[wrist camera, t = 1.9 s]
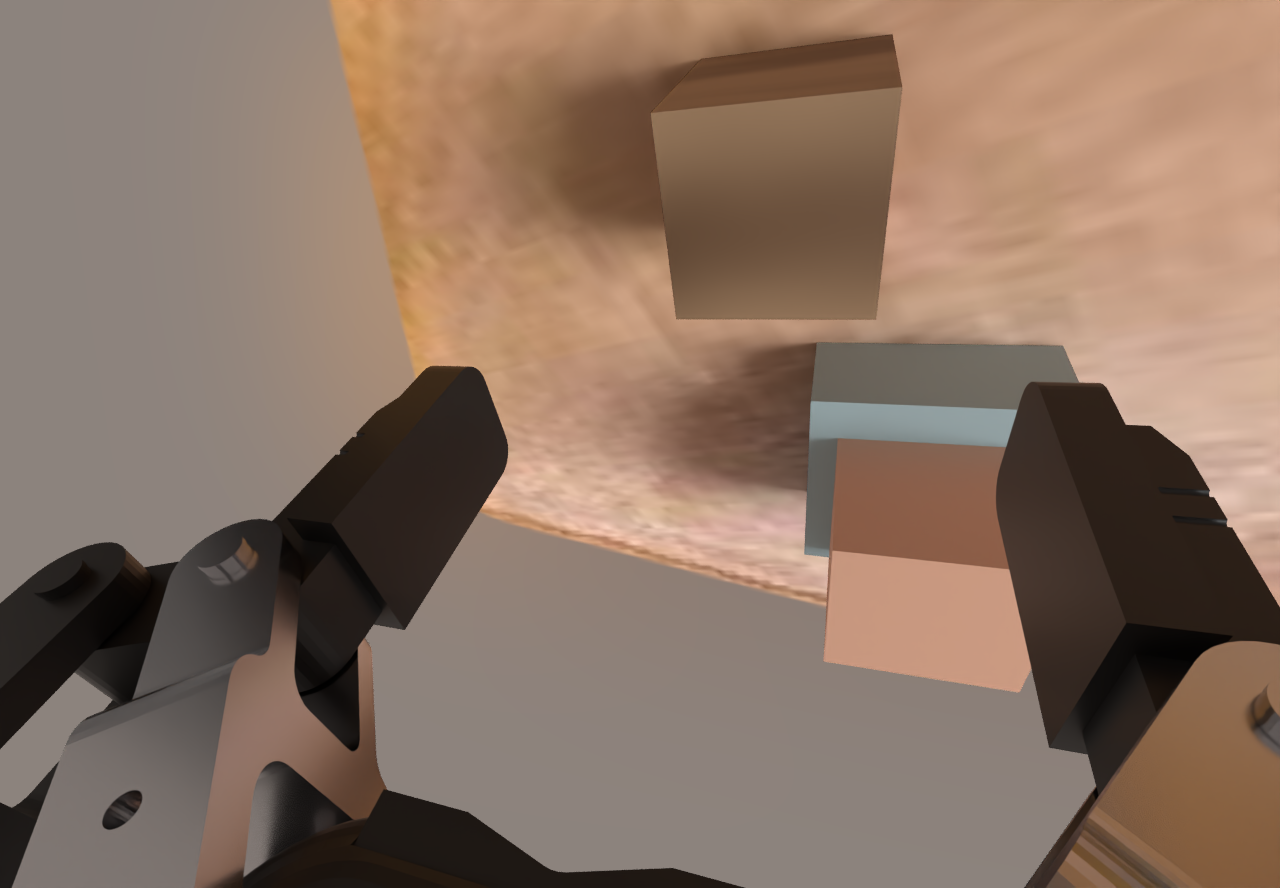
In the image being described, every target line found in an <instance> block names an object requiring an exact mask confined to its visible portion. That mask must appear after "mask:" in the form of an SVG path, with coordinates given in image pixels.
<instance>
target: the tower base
mask: <svg viewBox="0 0 1280 888" xmlns="http://www.w3.org/2000/svg"><path fill="white" fill-rule="evenodd" d="M1030 382H1072V383H1079V381H1078V379H1077V377H1076V374H1075V372H1074V370H1073V367H1072V365H1071V363H1070V361H1069V358H1068V356H1067V354H1066V351H1065V349H1064V347H1063V346H1037V345H963V344H889V343H817V346H816V356H815V366H814V375H813V385H812V394H811V408H810V432H809V456H808V480H807V503H806V527H805V551H804V554H805V555H814V556H823V557H829V548H830V535H831V522H832V508H833V495H834V482H835V468H836V455H837V442H838V438H844V439H863V440H881V441H900V442H918V443H936V444H955V445H973V446H992V447H1006V446H1007V442H1008V439H1009V436H1010V433H1011V429H1012V426H1013V423H1014V420H1015V416H1016V413H1017V410H1018V407H1019V403H1020V400H1021V397H1022V394H1023V392H1024V389H1025V388H1026V386H1027V385H1028V384H1029V383H1030Z"/></svg>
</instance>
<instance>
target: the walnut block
mask: <svg viewBox="0 0 1280 888" xmlns="http://www.w3.org/2000/svg"><path fill="white" fill-rule="evenodd" d="M901 94H902V83H901V77H900V72H899V67H898V62H897V56H896V51H895V46H894V40H893V35H885V36H877V37H869V38H861V39H854V40H846V41H838V42H830V43H822V44H815V45H807V46H799V47H791V48H783V49H775V50H768V51H760V52H752V53H744V54H736V55H729V56H721V57H713V58H705V59H701V60H700V61H699V62H698V63H697V64H696V65H695V66H694V67H693V68H692V69H691V71H690V72H689V73H688V74H687V75H686V76H685V77H684V78H683V79H682V80H681V81H680V82H679V83H678V84H677V85H676V86H675V88H674V89H673V90H672V91H671V92H670V93H669V94H668V95H667V96H666V97H665V98H664V99H663V100H662V101H661V102H660V103H659V105H658V106H657V107H656V108H655V109H654V110H653V111H652V112H651V121H652V129H653V137H654V145H655V153H656V161H657V169H658V177H659V185H660V193H661V201H662V209H663V217H664V225H665V233H666V241H667V249H668V257H669V265H670V273H671V281H672V289H673V297H674V305H675V313H676V319H807V320H876V314H877V306H878V297H879V288H880V279H881V270H882V261H883V253H884V244H885V235H886V226H887V217H888V209H889V200H890V191H891V182H892V173H893V165H894V156H895V147H896V138H897V129H898V121H899V112H900V103H901Z"/></svg>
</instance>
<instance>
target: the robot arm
mask: <svg viewBox="0 0 1280 888" xmlns="http://www.w3.org/2000/svg"><path fill="white" fill-rule="evenodd" d="M507 458H508V444H507V439H506V436H505V433H504V430H503V428H502V425H501V422H500V419H499V417H498V414H497V411H496V409H495V406H494V403H493V401H492V398H491V395H490V393H489V390H488V387H487V385H486V382H485V379H484V377H483V375H482V374H481V372H480V371H479V370H478V369H476V368H474V367H460V366H430V367H428V368H426V369H425V370H424V371H423V372H422V373H421V374H420V375H419V377H418V378H417V379H416V380H415V381H414V382H413V383H412V384H411V385H410V386H409V387H408V388H407V389H406V391H405V392H404V393H403V394H402V395H401V396H400V397H399V398H397V399H395V400H394V401H392V402H391V403H389V404H388V405H386V406H385V407H383V408H382V409H380V410H379V411H377V412H376V413H375V414H374V415H373V416H372V417H371V418H370V419H369V420H368V421H367V422H366V423H365V425H363V426H362V427H361V428H360V430H359V431H358V432H357V436H356V437H352V438H351V439H350V440H349V441H348V442H347V443H346V445H344V446H343V447H342V448H341V450H340V455H335V456H334V457H333V458H332V459H331V460H330V461H329V462H328V463H327V464H326V465H325V466H324V467H323V468H322V469H321V470H320V472H319V473H318V474H317V475H316V476H315V477H314V478H313V479H312V480H311V481H310V482H309V483H308V484H307V485H306V486H305V487H304V488H303V489H302V490H301V492H300V493H299V494H298V495H297V496H296V497H295V498H294V499H293V500H292V501H291V502H290V503H289V504H288V505H287V506H286V507H285V508H284V509H283V511H282V512H281V513H280V514H279V515H278V516H277V517H276V518H275V519H274V520H273V521H270V520H266V519H251V520H247V521H242V522H238V523H235V524H232V525H230V526H227V527H225V528H223V529H221V530H219V531H217V532H215V533H213V534H211V535H210V536H208V537H206V538H205V539H204V540H202V541H201V542H199V543H198V544H197V545H195V546H194V547H193V548H192V549H191V550H190V551H189V552H188V553H187V554H186V555H185V556H184V557H183V558H182V559H181V560H180V561H179V562H174V563H168V564H161V565H155V566H150V567H143V566H142V565H141V564H140V563H139V562H138V561H137V560H136V559H135V558H134V557H133V556H132V555H131V554H130V553H129V552H128V551H126V549H124V547H122V546H121V545H119V544H117V543H112V542H111V543H110V542H109V543H99V544H94V545H90V546H86V547H83V548H81V549H78V550H75V551H73V552H71V553H69V554H66V555H65V556H63V557H61V558H59V559H57V560H55V561H54V562H52V563H50V564H49V565H47V566H46V567H44V568H43V569H41V570H40V571H38V572H37V573H36V574H35V575H33V576H32V577H31V578H30V579H28V580H27V581H26V582H25V583H24V584H23V585H21V586H20V587H19V588H18V589H17V590H16V591H14V592H13V593H12V594H11V595H10V596H8V597H7V598H6V599H5V600H4V601H3V602H1V603H0V749H1V748H2V747H3V746H4V745H5V743H6V742H7V741H8V740H9V739H10V738H11V737H12V736H13V735H14V734H15V733H16V732H17V731H18V730H19V729H20V728H21V727H22V726H23V725H24V724H25V723H26V722H27V721H28V720H29V719H30V718H31V717H32V716H33V714H34V713H35V712H36V711H37V710H38V709H39V708H40V707H41V706H42V705H43V704H44V703H45V702H46V701H47V700H48V699H49V698H50V697H51V696H52V695H53V694H54V693H55V691H57V690H58V689H59V688H60V687H61V685H63V683H64V682H65V681H66V680H67V679H68V678H69V677H70V676H71V675H72V674H73V673H74V672H75V673H76V674H78V675H79V676H80V677H82V678H83V679H85V680H86V681H87V682H89V683H90V684H92V685H93V686H94V687H96V688H97V689H99V690H100V691H101V692H103V693H104V694H105V695H107V696H108V697H110V698H111V699H112V700H113V701H112V702H111V703H110V704H109V705H108V706H107V707H106V709H105V710H104V711H102V712H99V713H96V714H94V715H92V716H90V717H87V718H86V719H85V720H83V721H82V722H81V723H80V724H79V725H78V726H77V727H76V728H75V729H74V731H73V732H72V733H71V735H70V736H69V739H68V741H67V743H66V745H65V747H64V750H63V753H62V756H61V758H60V761H59V762H58V763H57V764H56V765H55V766H54V768H52V770H51V771H50V772H49V773H48V774H47V775H46V777H45V778H44V779H43V780H42V781H41V782H40V783H39V784H38V786H37V787H36V788H35V789H34V790H33V791H32V792H31V793H30V794H29V795H28V796H27V797H26V798H25V799H24V800H23V801H22V802H20V803H19V804H17V805H16V806H14V807H13V808H11V807H8V806H6V805H4V804H2V803H0V888H744V887H740V886H736V885H732V884H729V883H725V882H721V881H718V880H714V879H711V878H707V877H703V876H700V875H696V874H692V873H688V872H685V871H681V870H678V869H674V868H665V869H640V870H616V871H591V872H569V873H565V872H556V871H553V870H550V869H548V868H547V867H545V866H543V865H542V864H540V863H539V862H538V861H536V860H535V859H533V858H532V857H531V856H529V855H528V854H526V853H525V852H523V851H522V850H521V849H519V848H518V847H516V846H515V845H514V844H512V843H511V842H509V841H508V840H507V839H505V838H504V837H502V836H501V835H499V834H498V833H497V832H495V831H494V830H492V829H491V828H490V827H488V826H487V825H485V824H484V823H482V822H481V821H480V820H478V819H477V818H476V817H474V816H473V815H471V814H470V813H468V812H465V811H462V810H458V809H454V808H451V807H447V806H444V805H440V804H436V803H433V802H429V801H425V800H422V799H418V798H414V797H411V796H407V795H403V794H400V793H396V792H392V791H388V790H387V788H386V786H385V784H384V781H383V779H382V777H381V774H380V771H379V767H378V763H377V756H376V735H375V713H374V689H373V668H372V651H371V647H370V644H369V642H368V641H367V640H366V639H365V636H366V635H367V633H368V632H369V630H370V629H371V627H372V626H373V624H375V625H380V626H386V627H392V628H397V629H402V630H405V629H406V627H407V626H408V624H409V622H410V621H411V619H412V618H413V616H414V614H415V613H416V611H417V610H418V608H419V606H420V605H421V603H422V602H423V600H424V598H425V597H426V595H427V594H428V592H429V591H430V589H431V587H432V586H433V584H434V582H435V581H436V579H437V578H438V576H439V575H440V573H441V571H442V570H443V568H444V567H445V565H446V563H447V562H448V560H449V558H450V557H451V555H452V554H453V552H454V551H455V549H456V547H457V546H458V544H459V543H460V541H461V539H462V538H463V536H464V535H465V533H466V532H467V530H468V528H469V527H470V525H471V524H472V522H473V520H474V519H475V517H476V516H477V514H478V512H479V511H480V509H481V508H482V506H483V504H484V503H485V501H486V500H487V498H488V496H489V495H490V493H491V492H492V490H493V488H494V487H495V485H496V484H497V482H498V480H499V479H500V477H501V476H502V474H503V472H504V470H505V467H506V464H507ZM1209 491H1210V490H1209V488H1208V486H1207V485H1206V483H1205V481H1204V480H1203V478H1202V476H1201V475H1200V473H1199V471H1198V470H1197V468H1196V466H1195V465H1194V463H1193V461H1192V460H1191V458H1190V456H1189V455H1188V454H1186V453H1185V452H1184V451H1182V450H1181V449H1180V448H1179V447H1177V446H1176V445H1175V444H1173V443H1172V442H1171V441H1170V440H1168V439H1167V438H1166V437H1164V436H1163V435H1162V434H1160V433H1159V432H1158V431H1157V430H1155V429H1154V428H1153V427H1151V426H1139V425H1126V424H1125V422H1124V421H1123V419H1122V417H1121V415H1120V413H1119V411H1118V409H1117V407H1116V405H1115V403H1114V401H1113V399H1112V397H1111V395H1110V393H1109V391H1108V390H1107V388H1106V387H1105V386H1104V385H1103V384H1101V383H1072V382H1030V383H1029V384H1028V385H1027V386H1026V388H1025V389H1024V392H1023V394H1022V397H1021V400H1020V403H1019V407H1018V410H1017V413H1016V416H1015V420H1014V423H1013V426H1012V429H1011V433H1010V436H1009V439H1008V442H1007V446H1006V449H1005V452H1004V456H1003V459H1002V462H1001V465H1000V469H999V473H998V478H997V485H996V510H997V517H998V522H999V526H1000V531H1001V535H1002V539H1003V544H1004V548H1005V553H1006V557H1007V562H1008V566H1009V571H1010V575H1011V580H1012V584H1013V588H1014V593H1015V597H1016V602H1017V606H1018V611H1019V615H1020V620H1021V624H1022V629H1023V633H1024V637H1025V642H1026V646H1027V651H1028V655H1029V660H1030V664H1031V669H1032V673H1033V678H1034V682H1035V686H1036V691H1037V695H1038V700H1039V704H1040V709H1041V713H1042V718H1043V722H1044V727H1045V731H1046V735H1047V740H1048V744H1049V747H1050V748H1055V749H1061V750H1066V751H1071V752H1077V753H1083V754H1088V757H1089V760H1090V764H1091V768H1092V771H1093V775H1094V779H1095V783H1096V786H1095V788H1094V789H1093V790H1092V791H1091V793H1090V794H1089V795H1088V797H1087V798H1086V800H1085V801H1084V802H1083V804H1082V805H1081V807H1080V808H1079V810H1078V811H1077V813H1076V814H1075V815H1074V817H1073V818H1072V820H1071V821H1070V823H1069V824H1068V825H1067V827H1066V828H1065V830H1064V831H1063V833H1062V834H1061V835H1060V837H1059V838H1058V840H1057V841H1056V843H1055V844H1054V845H1053V847H1052V849H1051V850H1050V851H1049V853H1048V854H1047V855H1046V857H1045V858H1044V860H1043V861H1042V863H1041V864H1040V865H1039V867H1038V868H1037V870H1036V871H1035V873H1034V874H1033V876H1032V877H1031V878H1030V880H1029V881H1028V883H1027V884H1026V886H1025V887H1024V888H1280V607H1279V605H1278V604H1277V602H1276V600H1275V599H1274V597H1273V595H1272V593H1271V592H1270V590H1269V588H1268V587H1267V585H1266V583H1265V582H1264V580H1263V578H1262V577H1261V575H1260V573H1259V572H1258V570H1257V568H1256V567H1255V565H1254V563H1253V562H1252V560H1251V558H1250V557H1249V555H1248V553H1247V552H1246V550H1245V548H1244V547H1243V545H1242V543H1241V542H1240V540H1239V538H1238V537H1237V535H1236V533H1235V532H1234V530H1233V528H1231V527H1227V518H1226V516H1225V515H1224V513H1223V511H1222V510H1221V508H1220V506H1219V505H1218V503H1217V501H1216V500H1215V498H1214V497H1209Z"/></svg>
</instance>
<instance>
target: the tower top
mask: <svg viewBox="0 0 1280 888" xmlns="http://www.w3.org/2000/svg"><path fill="white" fill-rule="evenodd" d="M1005 449H1006V447H992V446H973V445H955V444H936V443H918V442H900V441H881V440H863V439H844V438H838V442H837V455H836V468H835V482H834V495H833V508H832V522H831V535H830V548H829V567H828V587H827V606H826V626H825V646H824V661H825V662H831V663H838V664H844V665H850V666H856V667H862V668H869V669H875V670H881V671H887V672H894V673H900V674H907V675H912V676H918V677H925V678H931V679H937V680H944V681H950V682H956V683H963V684H969V685H975V686H981V687H987V688H994V689H1000V690H1006V691H1013V692H1020V690H1021V688H1022V686H1023V684H1024V682H1025V680H1026V678H1027V676H1028V674H1029V672H1030V670H1031V664H1030V660H1029V655H1028V651H1027V646H1026V642H1025V637H1024V633H1023V629H1022V624H1021V620H1020V615H1019V611H1018V606H1017V602H1016V597H1015V593H1014V588H1013V584H1012V580H1011V575H1010V571H1009V566H1008V562H1007V557H1006V553H1005V548H1004V544H1003V539H1002V535H1001V531H1000V526H999V522H998V517H997V510H996V485H997V478H998V473H999V469H1000V465H1001V462H1002V459H1003V456H1004V452H1005Z"/></svg>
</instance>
